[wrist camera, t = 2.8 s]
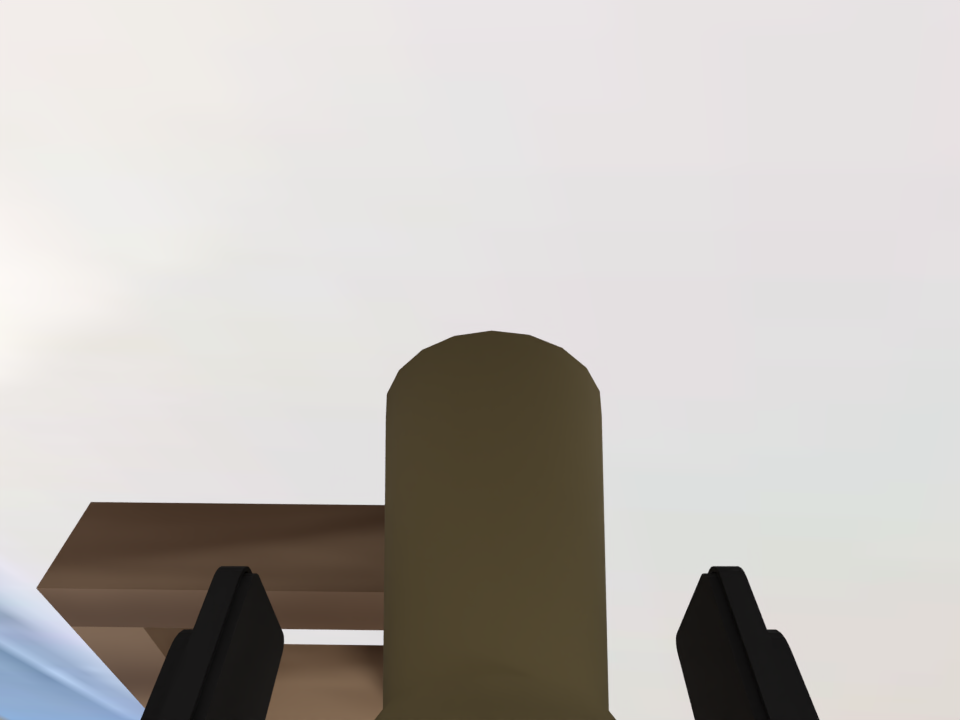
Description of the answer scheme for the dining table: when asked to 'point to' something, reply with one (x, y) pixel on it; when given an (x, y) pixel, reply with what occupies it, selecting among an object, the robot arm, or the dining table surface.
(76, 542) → the socket stand
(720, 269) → the dining table surface
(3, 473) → the dining table surface
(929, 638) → the dining table surface
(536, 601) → the cork
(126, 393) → the dining table surface
